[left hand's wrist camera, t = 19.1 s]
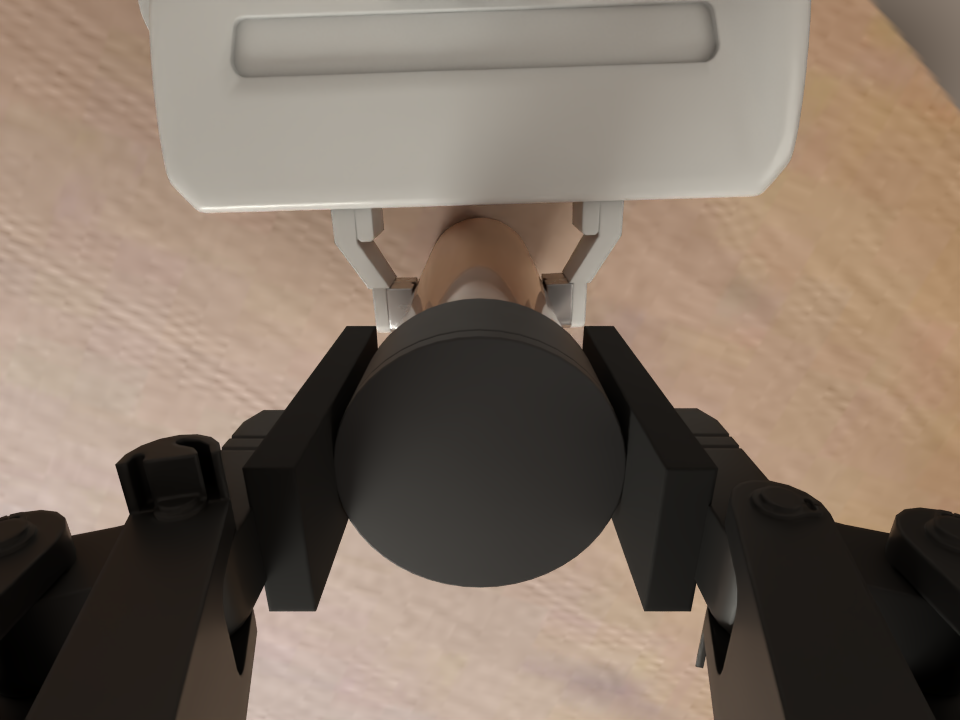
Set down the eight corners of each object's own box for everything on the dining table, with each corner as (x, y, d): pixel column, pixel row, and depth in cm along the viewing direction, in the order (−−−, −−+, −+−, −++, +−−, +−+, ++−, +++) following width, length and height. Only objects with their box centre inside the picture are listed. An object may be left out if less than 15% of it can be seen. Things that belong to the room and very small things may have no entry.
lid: (335, 315, 11) (299, 358, 9) (592, 281, 11) (621, 316, 9) (386, 522, 13) (366, 601, 11) (605, 498, 13) (631, 573, 11)
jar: (515, 203, 25) (574, 302, 9) (541, 301, 27) (628, 523, 11) (415, 235, 26) (313, 377, 10) (447, 329, 27) (404, 577, 12)
